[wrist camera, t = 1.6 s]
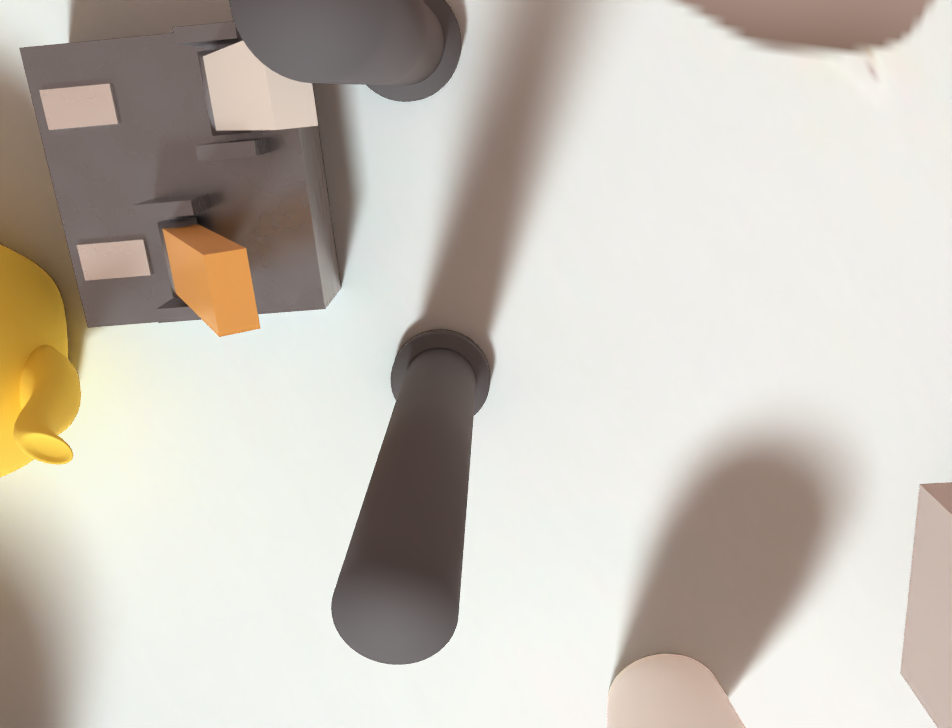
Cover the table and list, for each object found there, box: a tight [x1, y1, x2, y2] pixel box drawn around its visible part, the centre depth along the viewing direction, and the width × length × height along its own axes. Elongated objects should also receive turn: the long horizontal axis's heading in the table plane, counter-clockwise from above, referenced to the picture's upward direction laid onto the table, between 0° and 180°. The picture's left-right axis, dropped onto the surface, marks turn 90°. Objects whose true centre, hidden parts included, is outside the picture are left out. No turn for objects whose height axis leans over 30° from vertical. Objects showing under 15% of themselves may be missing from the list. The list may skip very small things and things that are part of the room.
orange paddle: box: [157, 217, 260, 337], centre depth 32 cm, size 2×3×10 cm, turn 4°
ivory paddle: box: [197, 41, 318, 136], centre depth 30 cm, size 2×3×10 cm, turn 4°
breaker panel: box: [20, 21, 341, 327], centre depth 36 cm, size 11×12×6 cm
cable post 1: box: [229, 0, 461, 102], centre depth 28 cm, size 5×5×20 cm
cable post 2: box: [331, 330, 490, 664], centre depth 33 cm, size 5×5×20 cm
